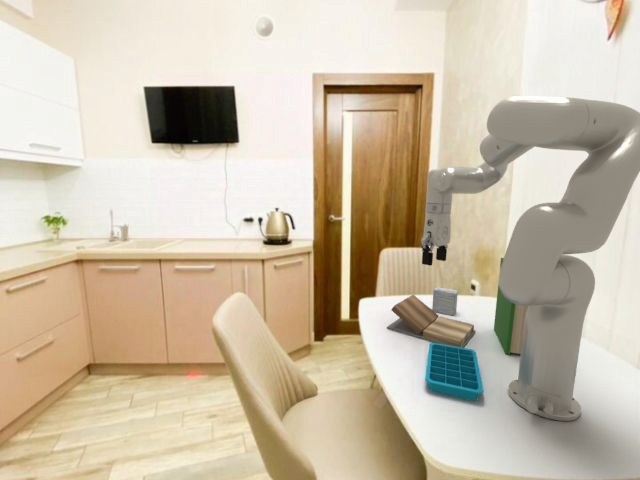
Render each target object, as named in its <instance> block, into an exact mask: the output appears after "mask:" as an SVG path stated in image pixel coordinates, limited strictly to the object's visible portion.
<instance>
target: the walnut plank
mask: <svg viewBox="0 0 640 480" xmlns="http://www.w3.org/2000/svg"><path fill="white" fill-rule="evenodd" d="M391 311H392V312H393V313H394V314H395V315H396V316H398V318H401V319H402V320H403V321H404V322H405V323H406V324H407V325H408V326H410V327H411V328H412V329H413V330H414V331H415V332H416V333H417V334H420V333H421V332H423V331H424V330H425V329H426V328H427V327H428V326H429V325H431V324H432V323H433V322H434V321H435V320H436V319H437V318H439V317H440V316H439V314H437V312H434V311H433V310H432V308H430V306H428V305H426V303H424V302H422V300H421V299H420V298H418V297H417V296H416V295H415V294H411V295H410V296H408V297H407V298H404V299H403V300H401V301H399V302H398V303H396V304H395V305H393V306H392V309H391Z"/></svg>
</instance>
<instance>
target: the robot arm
mask: <svg viewBox="0 0 640 480" xmlns="http://www.w3.org/2000/svg"><path fill="white" fill-rule="evenodd" d="M487 116H488V117H487V120H486V121H487V122H486V128H487V132H488V135H487V136H486V137H484V138H483V139H482V140H481V143H480V144H479V152H480V153H479V154H480V155H481V158H482V159H483V161H484V162H483V163H481V165H478V166H477V167H469V166H467V167H466V166H447V167H443V168H439V169H438V168H436V169H431V170H430V171H429V172H428V173H427V187H426V201H425V212H424V213H425V219H424V220H425V221H424V225H423V235H422V238H421V239H420V242H421V252H422V258H421V264H422V265H425V266H432V265H433V262H434V261H433V258H434V252H433V250H434V248H435V247H437V248H436V253H435V259H436V260H437V261H442V262H446V261H447V253H448V250H447V249H448V248H449V247H448V245H449V244H450V243H451V230H452V228H451V227H452V226H451V224H452V222H451V220H452V219H451V213H452V205H453V204H452V202H453V195H454V194H455V195H456V194H465V195H466V194H468V195H470V194H471V195H474V194H479V193H482V192H484V191H486V190H488V189H490V188H491V187H492V186H495V185H496V184H497V183H499V182H500V181H501V180H502V179H503V177H504V175H505V173H506V172H507V169H508V166H509V164H511V163H512V162H514V161H515V160H517V159H519V157H521V156H523V155H525V154H526V153H527V152H529V151H530V150H532V149H533V148H534V147H535V148H541V149H549V150H561V151H562V150H564V151H580V152H586V153H587V154H588V156H587V157H586V158H585V159H584V160H583V161H582V163H581V164H580V165H579V166H577V168H576V169H575V170H574V172H573V173H572V174H571V177H570V179H569V180H568V184H567V188H566V189H565V192H564V194H563V196H562V198H561V200H559V202H543V203H538V204H535V205H533V206H531V207H530V208H527V210H525V212H523V214H521V216H519V218H518V220H517V221H516V223H515V226H514V229H512V234H511V236H510V239H509V242H508V245H507V247H506V250H505V254H504V256H503V258H504V259H503V262H502V265H501V268H500V267H499V272H500V273H499V274H498V282H499V286H500V289H501V292H502V294H503V295H504V296H505V298H506V299H508V300H509V301H510V302H512V303H514V304H517V305H521V306H529V307H528V309H527V312H526V316H525V322H524V330H523V339H522V347H521V354H520V356H519V357H520V358H519V366H518V367H519V368H518V375H517V379H515V380H512V381H511V382H509V384H508V389H507V390H508V395H509V396H510V398H511V399H512V400H513V401H514V402H515V403H516V404H518V405H519V406H520V407H521V408H523V409H525V410H527V411H528V412H529V413H530V414H535V415H537V416H540V417H543V418H546V419H550V420H552V421H553V420H556V421H560V422H561V421H562V422H564V421H565V422H567V421H574V420H577V419H578V418H579V417H580V416H581V412H582V407H581V405H580V403H579V401H578V400H577V399H576V398H575V397H574V396H573V395H574V389H575V384H576V376H577V369H578V361H579V354H580V347H581V340H582V334H583V328H584V324H585V323H584V322H585V317H586V315H587V311H588V308H589V305H590V303H591V300H592V297H593V294H594V291H595V288H596V277H595V274H594V271H593V269H592V268H591V266H590V265H588V263H587V262H585V261H584V260H582V259H580V258H578V257H576V256H572V255H574V254H575V255H576V254H577V255H578V254H579V255H580V254H587V253H592V252H596V251H597V250H599V249H601V248H602V247H603V246H604V245H605V244H606V243H607V241H608V239H609V237H610V236H611V233H612V231H613V229H614V226H615V225H616V222H617V220H618V219H619V216H620V214H621V212H622V210H623V207H624V205H625V203H626V201H627V199H628V196H629V194H630V191H631V189H632V187H633V185H634V183H635V181H636V180H637V177H638V175H639V173H640V112H639V111H637V110H636V109H634V108H632V107H630V106H627V105H624V104H621V103H616V102H611V101H603V100H595V99H587V98H586V99H585V98H578V97H566V96H526V95H525V96H521V95H512V96H511V95H510V96H508V97H506V98H504V99H502V100H500V101H499V102H498V103H497V104H496V105H495V106H493V108H492V110H490V113H489V115H487Z"/></svg>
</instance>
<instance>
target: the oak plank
mask: <svg viewBox="0 0 640 480" xmlns="http://www.w3.org/2000/svg"><path fill="white" fill-rule="evenodd" d="M474 328H475V324H472V323H467V322H463V321H459V320H457V319H456V320H455V319H452V318H448V317H444V316H439V317H438V318H437V319H436V320H435V321H434V322H433V323H432V324H431V325H429V326H428V327H427V328H426V329H425V330H424V331H423V337H425V338H428V339H431V340H435V341H438V342H441V343H445V344H448V345H451V346H455V347H461V346H462V345H463V344H464V342H465V341H466V340H467V339H468V337H469V336H470V335H471V333H472V332H473V331H474V330H475V329H474Z"/></svg>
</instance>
